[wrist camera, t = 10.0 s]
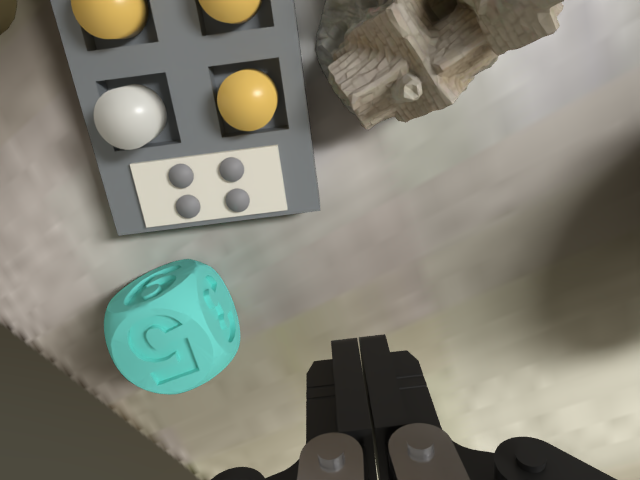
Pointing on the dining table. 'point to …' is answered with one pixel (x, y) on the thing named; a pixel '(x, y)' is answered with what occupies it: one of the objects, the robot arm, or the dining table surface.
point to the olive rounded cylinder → (7, 13)
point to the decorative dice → (172, 328)
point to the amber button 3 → (247, 99)
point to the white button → (130, 116)
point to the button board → (198, 117)
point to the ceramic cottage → (420, 49)
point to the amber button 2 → (231, 10)
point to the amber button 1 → (111, 17)
